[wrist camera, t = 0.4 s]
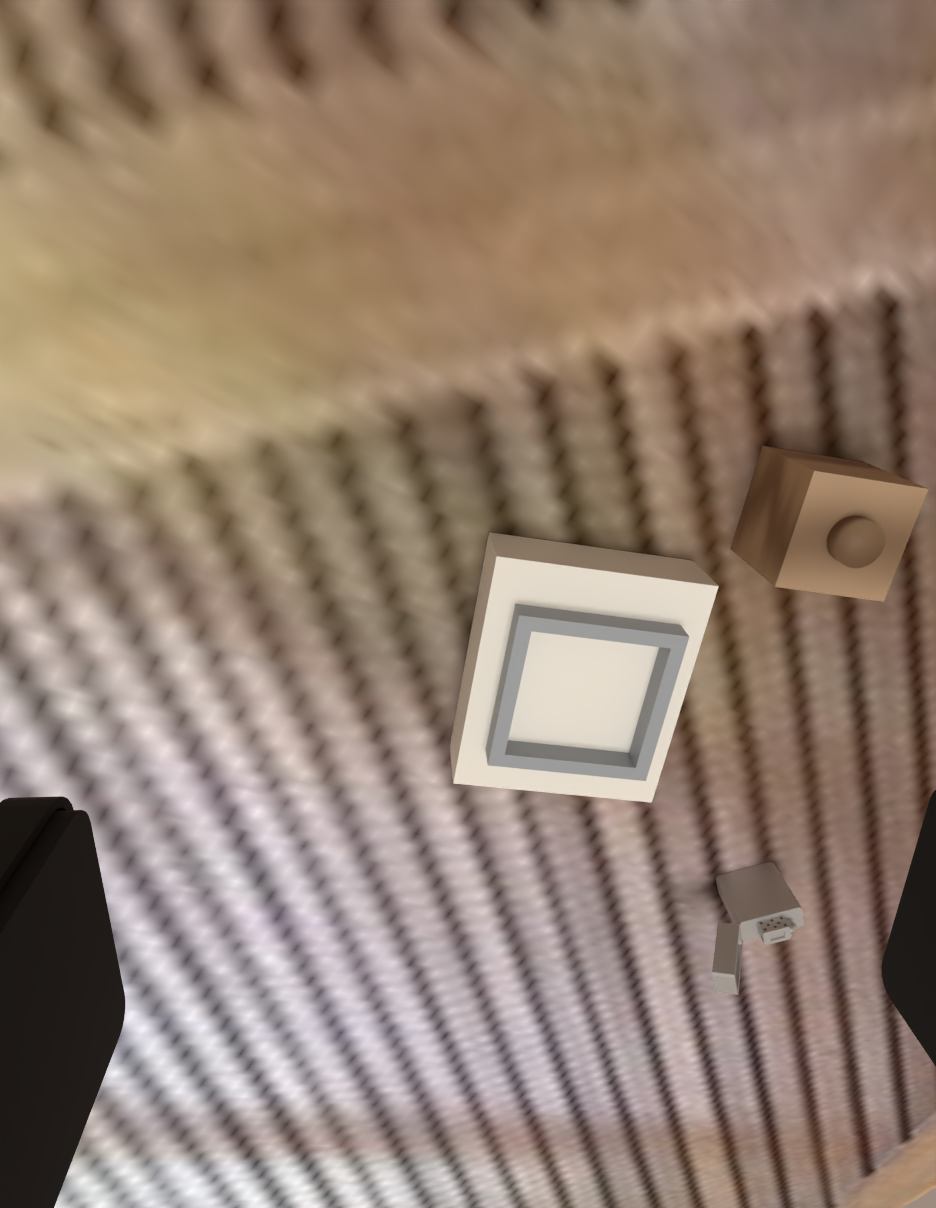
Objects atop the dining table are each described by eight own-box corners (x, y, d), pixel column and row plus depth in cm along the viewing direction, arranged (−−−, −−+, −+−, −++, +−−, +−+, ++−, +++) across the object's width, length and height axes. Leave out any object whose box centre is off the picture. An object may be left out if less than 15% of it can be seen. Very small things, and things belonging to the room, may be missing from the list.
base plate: (489, 532, 43) (499, 566, 38) (693, 560, 45) (729, 597, 40) (449, 744, 49) (454, 799, 44) (633, 763, 50) (659, 818, 45)
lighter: (773, 860, 54) (830, 952, 47) (775, 879, 55) (832, 972, 48) (673, 886, 55) (715, 981, 47) (677, 904, 55) (719, 1001, 48)
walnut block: (761, 445, 43) (824, 475, 36) (862, 461, 44) (941, 494, 37) (730, 548, 45) (783, 594, 39) (826, 562, 46) (894, 609, 39)
